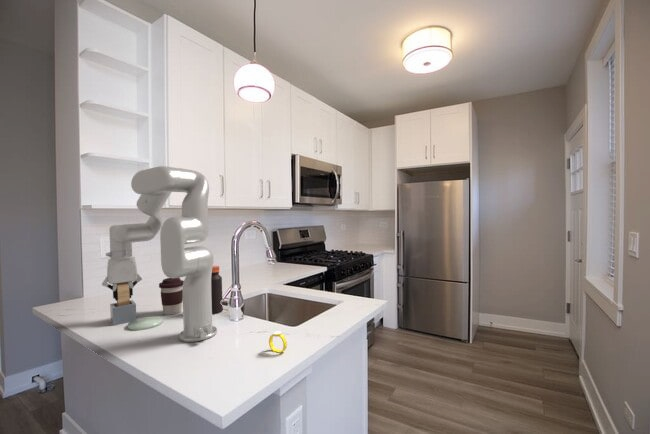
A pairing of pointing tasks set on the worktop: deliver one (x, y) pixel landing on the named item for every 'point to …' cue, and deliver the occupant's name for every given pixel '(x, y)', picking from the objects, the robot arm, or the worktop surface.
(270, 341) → the yellow ring
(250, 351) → the worktop surface
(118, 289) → the oak peg
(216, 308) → the bottle
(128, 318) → the gray open square box
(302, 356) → the worktop surface
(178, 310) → the coffee cup
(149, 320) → the mint green dome
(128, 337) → the worktop surface
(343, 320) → the worktop surface
